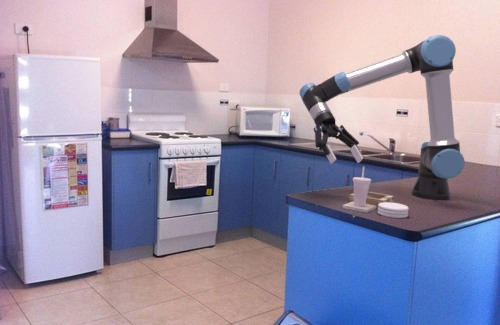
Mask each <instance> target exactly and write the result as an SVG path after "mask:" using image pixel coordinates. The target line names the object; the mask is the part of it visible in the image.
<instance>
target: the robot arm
mask: <svg viewBox="0 0 500 325" xmlns="http://www.w3.org/2000/svg"><path fill="white" fill-rule="evenodd" d="M456 51H457V50H456V45H455V43H454V41H453V40H452V39H451V38H450V37H448V36H446V35H442V34H437V35H432V36H428V37H427V38H426V39H425V40H422V41H421V42H419V43H418V44H417V45H414V46H413V47H410V48H407V49H405V50H403V51H402V53H400V54H399V55H395V56H394V57H390V58H387V59H384V60H381V61H378V62H375V63H372V64H370V65H367V66H364V67H361V68H358V69H356V70H355V69H354V70H352V71H350V72H346V73H345V72H344V71H340V72H338V73H336V74H334V75H333V76H331V77H329V78H328V79H327V78H326V80H324V81H323V82H321V83H318V84H317V85H316V84H315V83H314V82H309V83H305V84H303V85H302V87H301V88H300V90H299V96H300V98H301V101H302V103H303V104H304V106H305V108H306V109H307V111H308V113H309V114H310V117H311V119H312V120H313V122H314V125H315V126H314V128H313V131H314V140H315V147H316V148H318V150H319V151H323V153H324V155H325V156H326V157H327V159H328V161H329V163H330V164H331V165H333V164H334V163H335V161H337V157H336V155H335V154H334V151H333V150H332V149H331V146H330V145H329V144H328V139H329V138H334V139H336V140H339V141H341V142H342V143H344V144H345V145H346V146H347V147H348V148H349V151H350V152H351V154H352V156H353V158H354V159H355V161H356V162H357V164H359V163H360V162H362V161H363V159H364V157H363V155H362V153H361V152H360V150H359V148H358V145H360V142H359V141H358V140H357V139H356V138H355V137H354V135H352V134H351V133H350V132H349V131H348V130H347V129H346V128H345V127H344V125H342V124H341V125H340V126H338V125H337V124H336V117H335V116H334V115H333V113H332V111H331V109H330V108H329V106H328V104H327V102H329V101H331V100H332V99H334V98H337V97H338V96H340V95H343V94H345V93H348V92H351V91H354V90H357V89H361V88H363V87H367V86H369V85H372V84H375V83H379V82H381V81H384V80H388V79H390V78H393V77H397V76H400V75H402V74H406V73H408V74H413V73H416V72H420V75H421V76H422V77H423V78H424V80H425V81H424V82H425V91H426V99H427V100H426V101H427V110H428V111H427V114H428V124H429V135H430V136H429V137H430V141H424V142H423V143H422V144H421V147H420V155H419V163H418V165H419V166H418V174H417V178H416V181H415V183H414V185H413V187H412V189H411V190H412V191H411V195H412V196H413V197H416V198H418V199H425V200H430V201H431V200H433V201H449V200H451V192H450V187H449V180H450V179H453V178H456V177H458V176H460V174H461V173H462V172H463V171H464V168H465V162H466V161H465V157H464V156H463V153H462V152H461V146H460V141H459V140H458V139H457V138H456V137H455V126H454V115H453V102H452V100H453V99H452V89H451V78H450V77H451V76H450V75H451V74H452V72H453V71H454V58H455V56H456ZM448 179H449V180H448Z"/></svg>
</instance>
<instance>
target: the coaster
mask: <svg viewBox="0 0 500 325" xmlns="http://www.w3.org/2000/svg"><path fill="white" fill-rule="evenodd" d="M409 209H410V208H409V206H407V205H406V204H403V203H399V202H394V203H390V202H383V203H379V204H378V208H377V214H378V215H380V216H383V217H386V218H392V219H406V218H408V217H409Z"/></svg>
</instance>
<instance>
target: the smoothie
mask: <svg viewBox="0 0 500 325" xmlns="http://www.w3.org/2000/svg"><path fill="white" fill-rule="evenodd" d="M364 175H365V166H362V173H361V177H358V176H357V177H356V176H354V177H353V178H352V182H353V183H352V184H353V193H354V205H355V206H359V207H364V206H365V203H366V199H367V194H368V192H369V189H370V184H371V183H372V179H371V178H367V177H365V176H364Z"/></svg>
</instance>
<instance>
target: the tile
mask: <svg viewBox="0 0 500 325" xmlns="http://www.w3.org/2000/svg"><path fill="white" fill-rule="evenodd" d="M342 208H343V209H345V210H350V209H351V211H356V212H361V213H370V212H372V211H375V210H376V209H377V208H376V206H374V205H369V204H365V206H364V207H359V206H355V205H354V202H350V203H345V204H342Z"/></svg>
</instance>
